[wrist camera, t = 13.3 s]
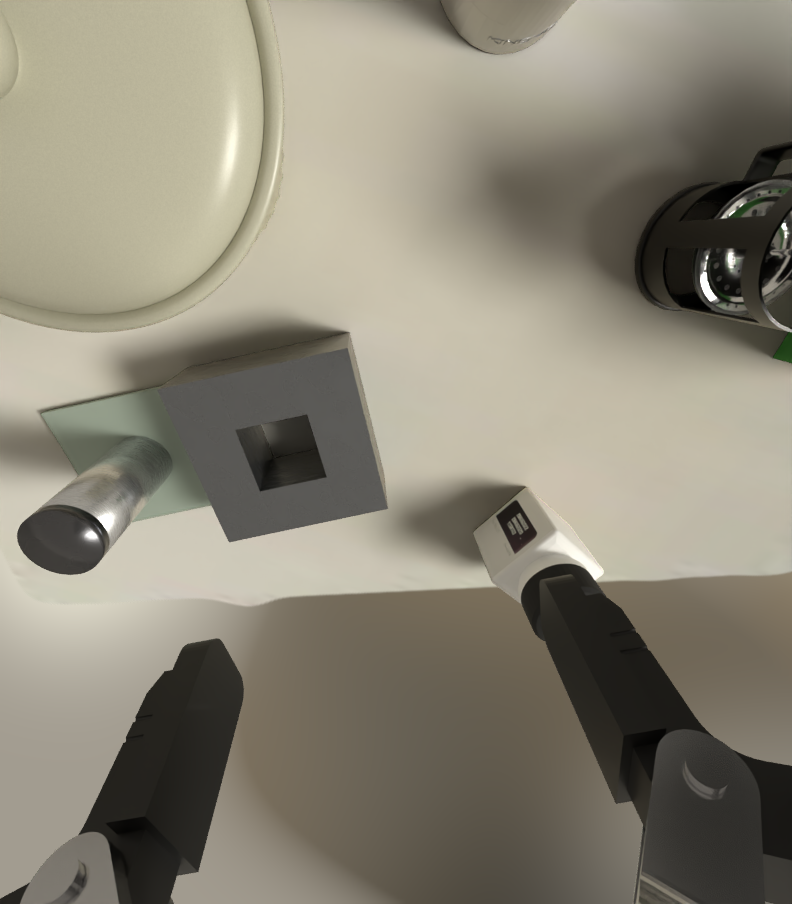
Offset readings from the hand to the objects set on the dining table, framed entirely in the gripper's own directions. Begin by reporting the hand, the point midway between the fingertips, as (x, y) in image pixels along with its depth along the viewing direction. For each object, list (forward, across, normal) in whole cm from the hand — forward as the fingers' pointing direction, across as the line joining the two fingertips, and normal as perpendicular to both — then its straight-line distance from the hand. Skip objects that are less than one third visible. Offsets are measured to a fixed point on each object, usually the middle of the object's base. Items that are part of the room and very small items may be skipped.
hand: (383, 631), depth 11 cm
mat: (+29, +22, +6) cm, 37 cm away
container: (+29, -12, +22) cm, 38 cm away
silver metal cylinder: (+28, +22, +6) cm, 36 cm away
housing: (+29, +8, +5) cm, 30 cm away
